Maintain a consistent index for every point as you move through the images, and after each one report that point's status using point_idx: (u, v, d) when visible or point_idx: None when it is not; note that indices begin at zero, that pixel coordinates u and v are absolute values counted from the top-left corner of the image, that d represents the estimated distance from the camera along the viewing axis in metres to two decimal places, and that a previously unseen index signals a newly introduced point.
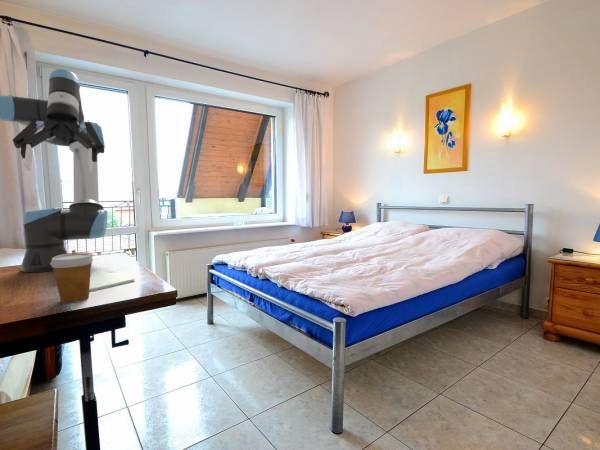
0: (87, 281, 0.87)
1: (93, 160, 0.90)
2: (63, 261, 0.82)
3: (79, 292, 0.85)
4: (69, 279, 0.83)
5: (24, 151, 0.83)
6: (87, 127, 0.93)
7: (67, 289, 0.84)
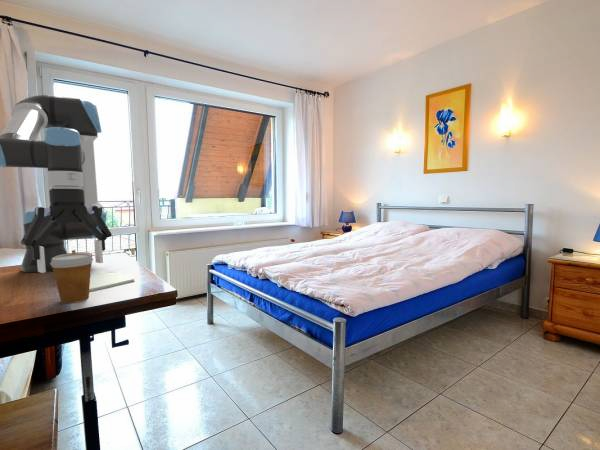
0: (87, 281, 0.87)
1: None
2: (63, 261, 0.82)
3: (79, 292, 0.85)
4: (69, 279, 0.83)
5: (37, 254, 0.79)
6: (95, 212, 0.89)
7: (67, 289, 0.84)
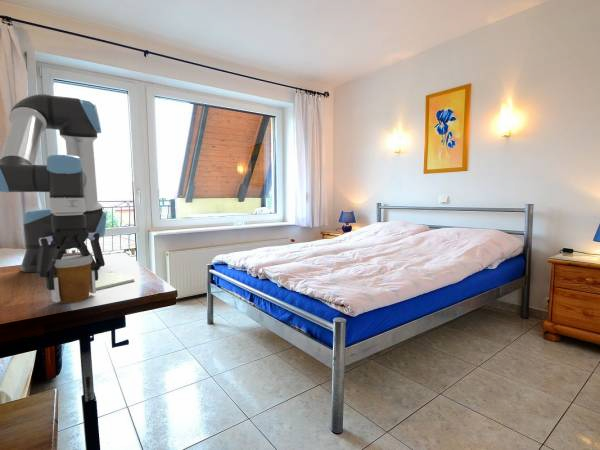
0: (87, 281, 0.87)
1: None
2: (63, 261, 0.82)
3: (79, 292, 0.85)
4: (69, 279, 0.83)
5: (52, 285, 0.82)
6: (95, 239, 0.90)
7: (67, 289, 0.84)
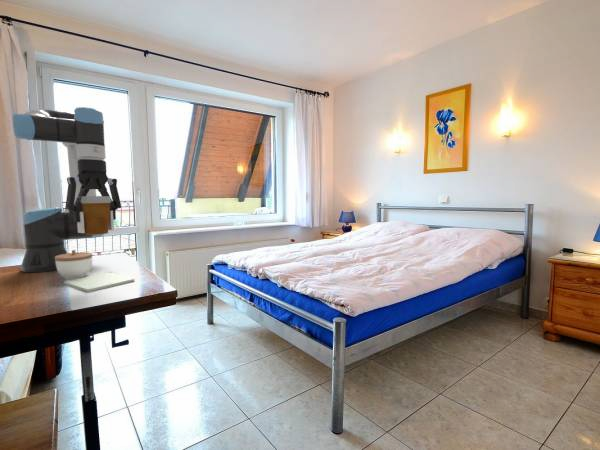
0: (107, 218, 1.02)
1: None
2: (88, 197, 0.97)
3: (100, 226, 1.00)
4: (92, 214, 0.98)
5: (78, 218, 0.97)
6: (114, 183, 1.05)
7: (91, 222, 0.98)
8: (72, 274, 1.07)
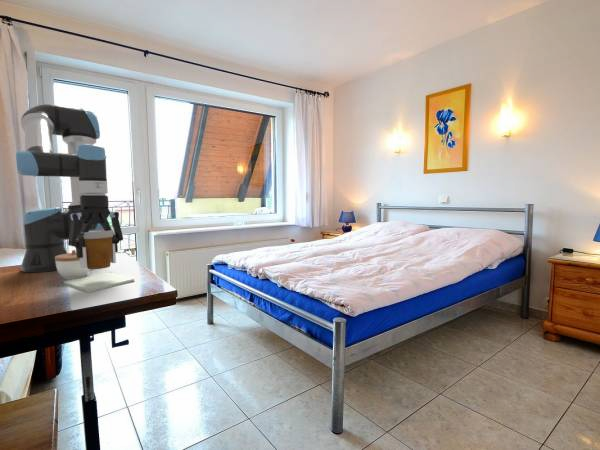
0: (109, 251, 1.03)
1: None
2: (90, 233, 0.98)
3: (103, 260, 1.01)
4: (94, 249, 0.99)
5: (81, 253, 0.98)
6: (116, 216, 1.06)
7: (93, 257, 0.99)
8: (72, 274, 1.07)
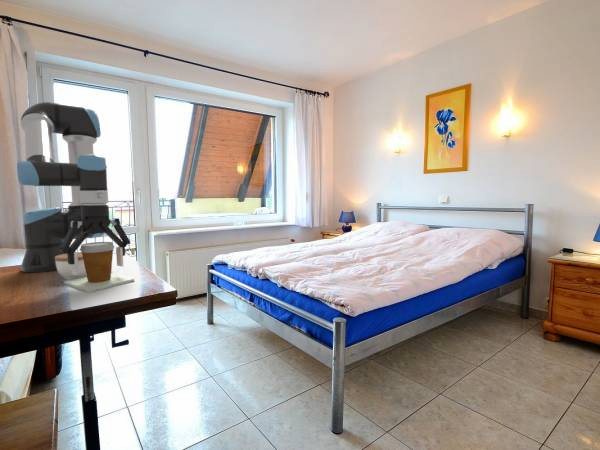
0: (110, 264, 1.03)
1: None
2: (91, 247, 0.98)
3: (103, 274, 1.02)
4: (95, 262, 1.00)
5: (72, 260, 0.96)
6: (117, 223, 1.07)
7: (94, 270, 1.00)
8: (72, 274, 1.07)
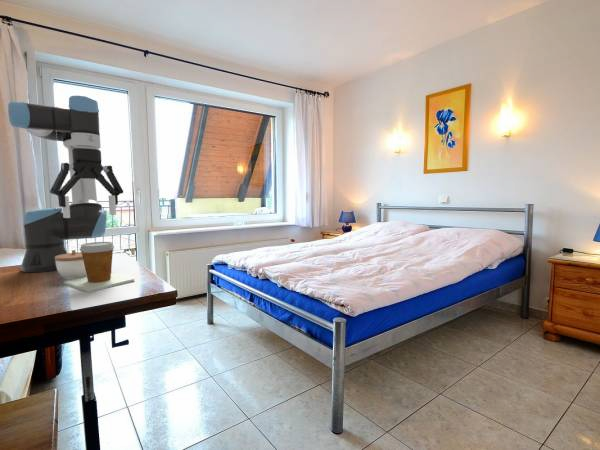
0: (110, 264, 1.03)
1: None
2: (91, 247, 0.98)
3: (103, 274, 1.02)
4: (95, 262, 1.00)
5: (63, 202, 0.95)
6: (110, 170, 1.05)
7: (94, 271, 1.00)
8: (72, 274, 1.07)
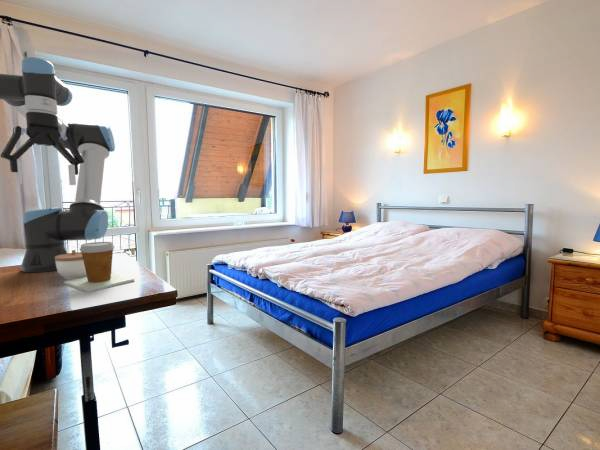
0: (110, 264, 1.03)
1: None
2: (91, 247, 0.98)
3: (103, 274, 1.02)
4: (95, 262, 1.00)
5: (15, 167, 0.91)
6: (68, 138, 1.01)
7: (94, 271, 1.00)
8: (72, 274, 1.07)
